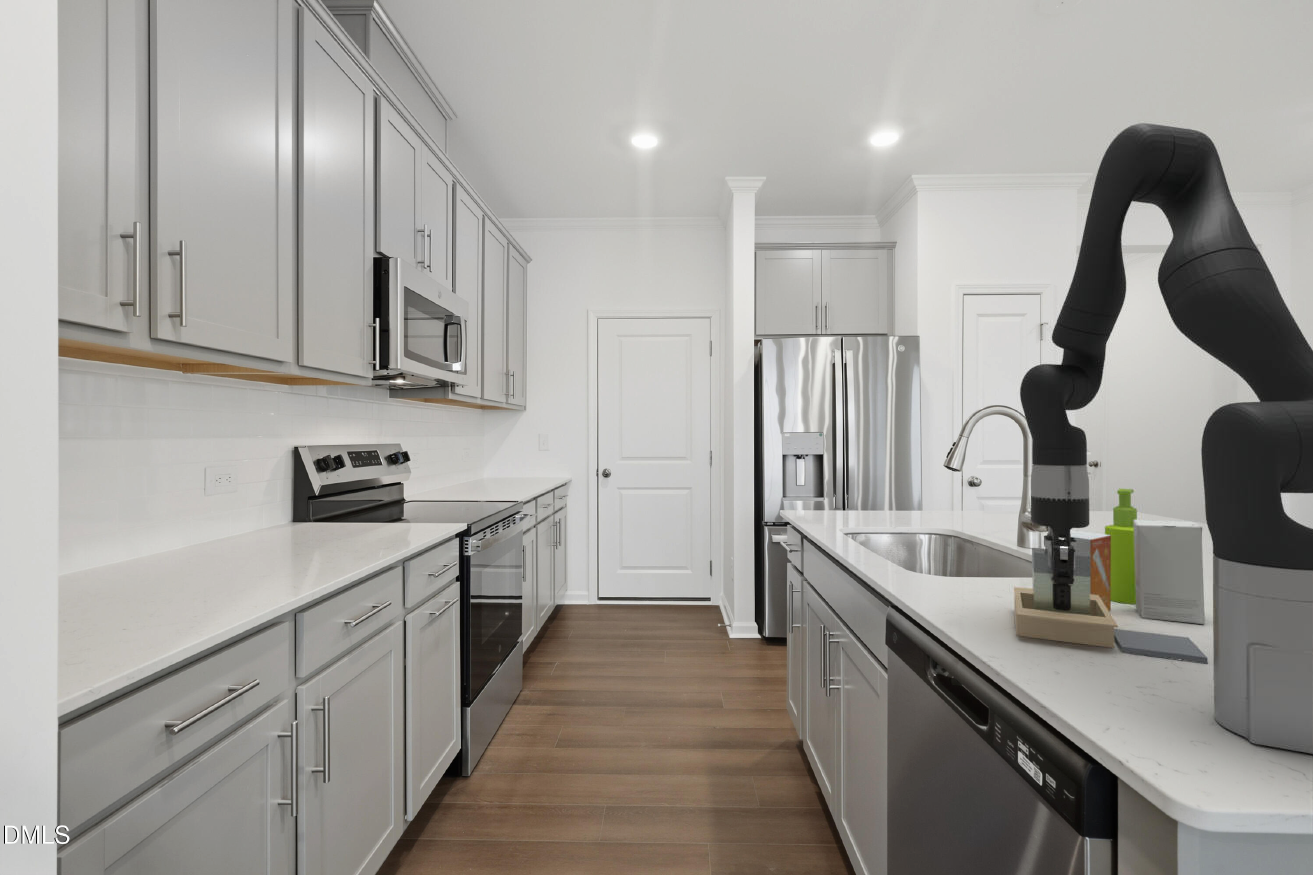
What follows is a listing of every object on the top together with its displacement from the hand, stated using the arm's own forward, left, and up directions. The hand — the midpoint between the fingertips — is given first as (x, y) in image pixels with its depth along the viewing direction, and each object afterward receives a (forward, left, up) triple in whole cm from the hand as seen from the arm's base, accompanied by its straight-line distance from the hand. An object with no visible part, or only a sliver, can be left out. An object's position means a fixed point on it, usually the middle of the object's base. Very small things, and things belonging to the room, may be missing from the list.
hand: (1060, 604), depth 94 cm
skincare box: (+16, -16, -4) cm, 23 cm away
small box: (+14, -4, -4) cm, 15 cm away
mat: (-3, -11, -4) cm, 12 cm away
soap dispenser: (+26, -12, -4) cm, 29 cm away
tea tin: (0, 0, -4) cm, 4 cm away
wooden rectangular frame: (0, 0, -4) cm, 4 cm away
